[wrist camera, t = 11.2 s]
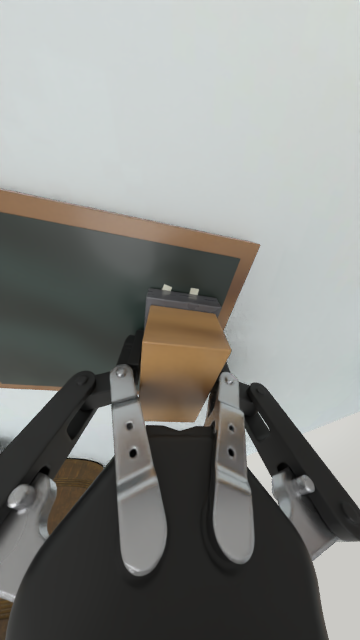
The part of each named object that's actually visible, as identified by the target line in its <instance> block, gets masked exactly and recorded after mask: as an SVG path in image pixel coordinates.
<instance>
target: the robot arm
mask: <svg viewBox="0 0 360 640" xmlns="http://www.w3.org/2000/svg"><path fill="white" fill-rule="evenodd" d="M143 336H144V330H137V332H136V335H129V336H128V337H127V338H126V339H125V342H124V345H123V348H122V351H121V353H120V356H119V359H118V362H117V364H116V366H115V367H114V368H112V370H111V371H109V372H106V373H102V374H97V375H95V374H94V373H93V372H91V371H81V372H78V373H76V374H75V375H73V376H72V377H71V378H70V379H69V380H68V381H67V383H66V384H65V385H64V386H63V387H62V388H61V389H60V390H59V391H58V392H57V393H56V394H55V396H54V397H53V398H52V399H51V400H50V401H49V402H48V403H47V404H46V405H45V406H44V407H43V409H42V410H41V411H40V412H39V413H38V414H37V415H36V416H35V417H34V418H33V419H32V420H31V422H30V423H29V424H28V425H27V426H26V427H25V428H24V429H23V430H22V431H21V432H20V433H19V435H18V436H17V437H16V438H15V439H14V440H13V441H12V442H11V443H10V444H9V445H8V446H7V448H6V449H5V450H4V451H3V452H2V453H1V454H0V598H3V599H5V600H8V601H11V602H13V605H12V609H11V612H10V616H9V621H8V625H7V631H6V638H5V640H329V638H328V634H327V630H326V626H325V622H324V617H323V612H322V606H321V600H320V593H319V587H318V581H317V577H316V572H315V569H314V566H313V562H312V561H313V560H314V559H315V558H317V557H318V556H319V555H321V553H323V552H324V551H325V550H327V549H328V548H329V547H330V546H331V545H333V544H334V543H335V542H345V541H346V542H349V541H360V509H359V508H358V506H357V505H356V504H355V502H354V501H353V500H352V499H351V497H350V496H349V495H348V493H347V492H346V491H345V490H344V488H343V487H342V486H341V484H340V483H339V482H338V480H337V479H336V478H335V476H334V475H333V474H332V473H331V471H330V470H329V469H328V467H327V466H326V465H325V464H324V462H323V461H322V460H321V458H320V457H319V456H318V454H317V453H316V452H315V451H314V449H313V448H312V447H311V445H310V444H309V443H308V442H307V440H306V439H305V438H304V437H303V435H302V434H301V432H300V431H299V430H298V429H297V427H296V426H295V425H294V423H293V422H292V421H291V420H290V418H289V417H288V416H287V414H286V413H285V412H284V410H283V409H282V408H281V407H280V405H279V404H278V403H277V401H276V400H275V399H274V398H273V396H272V395H271V394H270V392H269V391H268V390H267V389H266V388H265V387H264V386H263V385H261V384H259V383H252V384H251V385H250V386H249V385H246V384H244V383H241V382H239V381H238V379H237V378H236V377H235V376H234V375H233V374H231V373H230V370H229V368H228V365H227V362H226V363H225V365H224V367H223V368H222V370H221V372H220V374H219V376H218V378H217V380H216V382H215V384H214V386H213V388H212V390H211V391H210V395H209V401H208V407H207V414H206V420H205V424H204V426H195V427H192V428H189V429H185V430H182V431H178V430H175V429H172V428H169V427H166V426H159V425H146V427H145V422H144V417H143V413H142V408H141V403H140V399H139V397H138V396H137V391H136V386H135V385H138V381H139V375H140V369H141V352H142V340H143ZM109 404H112V405H111V407H112V423H113V438H114V453H115V455H114V457H113V458H112V459H111V460H110V462H109V463H108V464H107V465H106V466H105V468H104V469H103V470H102V471H101V473H100V474H99V475H98V476H97V478H96V479H95V480H94V481H93V483H92V484H91V485H90V486H89V487H88V489H87V490H86V491H85V492H84V494H83V495H82V496H81V497H80V499H79V500H78V501H77V502H76V503H75V505H74V506H73V507H72V508H71V510H70V511H69V512H68V513H67V515H66V516H65V517H64V518H63V520H62V521H61V522H60V523H59V524H58V526H57V527H56V528H55V529H54V531H53V532H52V533H51V534H50V536H49V534H48V531H47V520H48V516H49V513H50V510H51V508H52V506H53V504H54V501H55V499H56V495H57V486H56V484H55V482H54V481H53V479H54V478H55V476H56V474H57V473H58V471H59V470H60V468H61V466H62V465H63V463H64V462H65V460H66V458H67V457H68V455H69V453H70V452H71V450H72V449H73V447H74V445H75V444H76V442H77V441H78V439H79V437H80V436H81V434H82V433H83V431H84V429H85V428H86V426H87V425H88V423H89V421H90V420H91V418H92V417H93V415H94V413H95V412H96V410H97V409H98V408H99V407H102V406H106V405H109ZM258 412H259V413H260V415H261V416H262V418H263V419H264V421H265V422H266V424H267V426H268V427H269V429H268V427H267V426H266V424H265V423H264V421H263V420H262V418H261V417H260V415H259V413H258ZM245 429H246V431H247V432H248V434H249V436H250V438H251V440H252V442H253V443H254V445H255V447H256V449H257V451H258V453H259V455H260V456H261V458H262V460H263V462H264V464H265V466H266V468H267V469H268V471H269V473H270V475H271V477H272V486H273V487H272V493H273V495H274V497H275V499H276V500H278V504H279V506H278V505H277V503H276V502H275V501H274V500H273V498H272V497H271V496H270V495H269V493H268V492H267V491H266V490H265V488H264V487H263V486H262V485H261V483H260V482H259V481H258V480H257V478H256V477H255V476H254V475H253V474H252V472H251V471H250V470H249V468H248V467H247V461H246V442H245ZM269 430H270V431H269Z"/></svg>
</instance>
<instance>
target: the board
mask: <svg viewBox="0 0 360 640" xmlns="http://www.w3.org/2000/svg"><path fill="white" fill-rule="evenodd" d="M259 247H260V244H257V243H253V242H250V241H245V240H240V239H236V238H231V237H226V236H222V235H217V234H212V233H207V232H203V231H198V230H193V229H189V228H184V227H179V226H175V225H170V224H165V223H160V222H156V221H151V220H146V219H142V218H137V217H132V216H128V215H123V214H118V213H113V212H109V211H104V210H99V209H95V208H90V207H85V206H81V205H76V204H71V203H67V202H62V201H57V200H52V199H48V198H43V197H38V196H34V195H29V194H24V193H20V192H15V191H10V190H5V189H1V188H0V388H13V389H34V390H55V391H59V390H60V389H61V388H62V387H63V386H64V385H65V384H66V383H67V381H68V380H69V379H70V378H71V377H72V376H73V375H75V374H76V373H78V372H81V371H91V372H93V373H94V374H95V375H97V374H102V373H106V372H109V371H111V370H112V368H114V367H115V366H116V364H117V362H118V359H119V356H120V353H121V351H122V348H123V345H124V342H125V339H126V338H127V337H128V336H129V335H136V332H137V330H144V324H145V309H146V296H147V293H148V290H149V288H154V289H160V290H167V291H174V292H180V293H187V294H193V295H200V296H207V297H213V298H216V299H217V300H218V302H219V304H220V306H221V310H220V313H219V316H218V318H217V319H218V321H219V323H220V326H221V328H222V330H224V328H225V326H226V323H227V321H228V319H229V316H230V314H231V312H232V310H233V307H234V305H235V303H236V300H237V298H238V296H239V293H240V291H241V289H242V286H243V284H244V282H245V279H246V277H247V275H248V272H249V270H250V268H251V266H252V263H253V261H254V259H255V256H256V254H257V252H258V249H259ZM139 385H140V375H139V381H138V385H135V386H136V391H137V394H138V395H139Z"/></svg>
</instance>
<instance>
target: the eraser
mask: <svg viewBox="0 0 360 640" xmlns="http://www.w3.org/2000/svg"><path fill="white" fill-rule="evenodd" d="M220 310H221V306H220V304H219V302H218V300H217V299H216V298H213V297H207V296H200V295H193V294H187V293H180V292H174V291H167V290H160V289H154V288H149V290H148V293H147V296H146V309H145V324H144V336H143V340H142V352H141V369H140V385H139V399H140V403H141V408H142V413H143V417H144V421H163V422H195V420H196V418H197V416H198V414H199V412H200V411H201V409H202V407H203V405H204V403H205V401H206V399H207V397H208V395H209V393H210V391H211V390H212V388H213V386H214V384H215V382H216V380H217V378H218V376H219V374H220V372H221V370H222V368H223V367H224V365H225V363H226V361H227V359H228V357H229V355H230V353H231V348H230V345H229V343H228V341H227V339H226V337H225V334H224V332H223V330H222V328H221V326H220V323H219V321H218V319H217V318H218V316H219V313H220Z"/></svg>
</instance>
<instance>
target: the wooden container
mask: <svg viewBox="0 0 360 640" xmlns="http://www.w3.org/2000/svg"><path fill="white" fill-rule="evenodd" d="M102 470H103V467H102V466H101V465H99V464H97V463H95V462H91V461H86V460H79V459H66V460H65V462H64V463H63V465H62V466H61V468H60V470H59V471H58V473H57V474H56V476H55V478H54V479H53V481H54V482H55V484H56V486H57V495H56V499H55V501H54V504H53V506H52V508H51V510H50V513H49V516H48V520H47V531H48V534H49V536H50V534H51V533H52V532H53V531H54V529H55V528H56V527H57V526H58V524H59V523H60V522H61V521H62V520H63V518H64V517H65V516H66V515H67V513H68V512H69V511H70V510H71V508H72V507H73V506H74V505H75V503H76V502H77V501H78V500H79V499H80V497H81V496H82V495H83V494H84V492H85V491H86V490H87V489H88V487H89V486H90V485H91V484H92V483H93V481H94V480H95V479H96V478H97V476H98V475H99V474H100V473H101V471H102ZM12 605H13V602H11V601H8V600H5V599H3V598H0V640H5V638H6V631H7V625H8V621H9V616H10V612H11V609H12Z"/></svg>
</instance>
